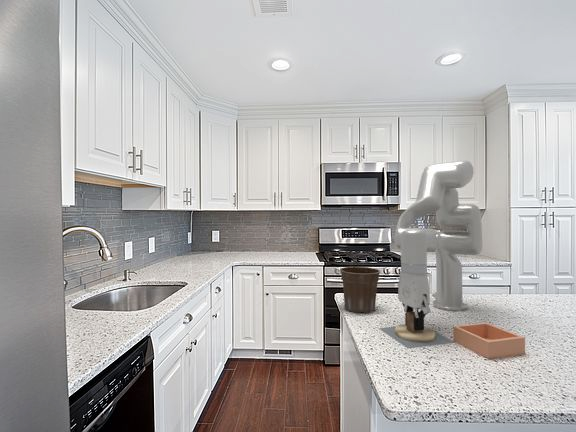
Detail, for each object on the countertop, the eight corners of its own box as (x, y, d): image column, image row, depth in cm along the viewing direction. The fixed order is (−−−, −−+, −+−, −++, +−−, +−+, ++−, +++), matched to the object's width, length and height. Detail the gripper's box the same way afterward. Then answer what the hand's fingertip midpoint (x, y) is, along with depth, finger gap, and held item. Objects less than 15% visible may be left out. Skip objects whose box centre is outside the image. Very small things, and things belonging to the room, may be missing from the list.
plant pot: (387, 308, 125) (387, 269, 125) (369, 318, 113) (369, 274, 113) (352, 301, 136) (352, 265, 136) (332, 309, 124) (332, 270, 124)
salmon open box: (453, 342, 90) (453, 326, 90) (486, 338, 93) (486, 322, 93) (488, 361, 79) (488, 342, 79) (525, 356, 81) (524, 337, 81)
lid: (387, 329, 99) (387, 309, 99) (418, 326, 102) (418, 306, 102) (410, 344, 88) (410, 321, 88) (444, 340, 91) (443, 317, 91)
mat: (378, 330, 101) (378, 328, 101) (420, 325, 105) (420, 323, 105) (407, 350, 86) (407, 348, 86) (455, 344, 89) (455, 342, 89)
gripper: (388, 265, 102) (389, 320, 102) (420, 274, 86) (421, 339, 86) (408, 264, 104) (408, 318, 104) (443, 273, 88) (444, 336, 88)
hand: (414, 326), depth 95 cm, fingers open, 3 cm apart
